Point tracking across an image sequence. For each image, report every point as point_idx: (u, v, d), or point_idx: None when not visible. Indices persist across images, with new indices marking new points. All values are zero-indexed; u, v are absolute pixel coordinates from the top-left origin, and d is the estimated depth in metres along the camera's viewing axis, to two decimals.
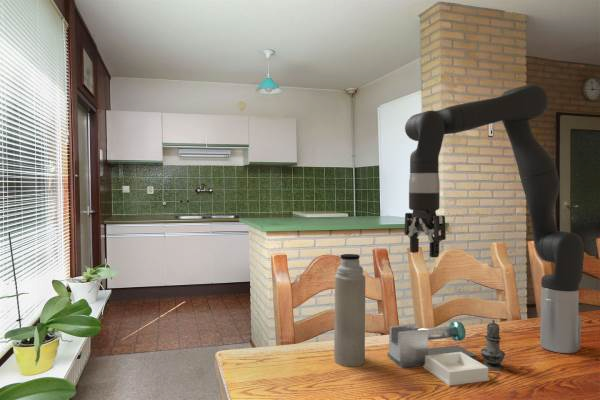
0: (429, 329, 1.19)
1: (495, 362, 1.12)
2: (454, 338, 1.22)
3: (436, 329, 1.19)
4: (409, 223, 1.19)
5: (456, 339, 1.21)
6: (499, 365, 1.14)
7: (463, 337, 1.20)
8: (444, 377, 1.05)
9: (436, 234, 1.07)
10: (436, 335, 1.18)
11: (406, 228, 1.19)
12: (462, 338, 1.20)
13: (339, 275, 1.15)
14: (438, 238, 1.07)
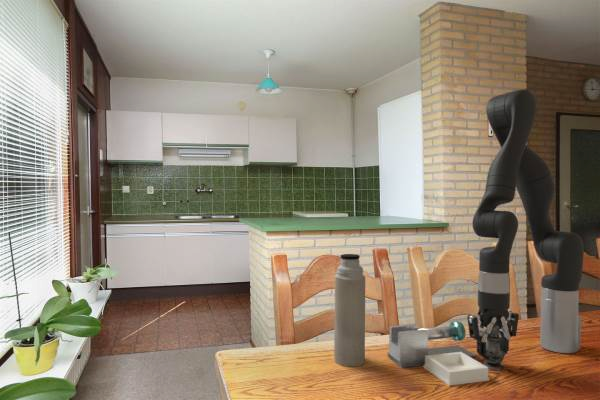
0: (429, 329, 1.19)
1: (495, 362, 1.12)
2: (454, 338, 1.22)
3: (436, 329, 1.19)
4: None
5: (456, 339, 1.21)
6: (499, 365, 1.14)
7: (463, 337, 1.20)
8: (444, 377, 1.05)
9: (515, 331, 1.15)
10: (436, 335, 1.18)
11: (477, 333, 1.11)
12: (462, 338, 1.20)
13: (339, 275, 1.15)
14: None
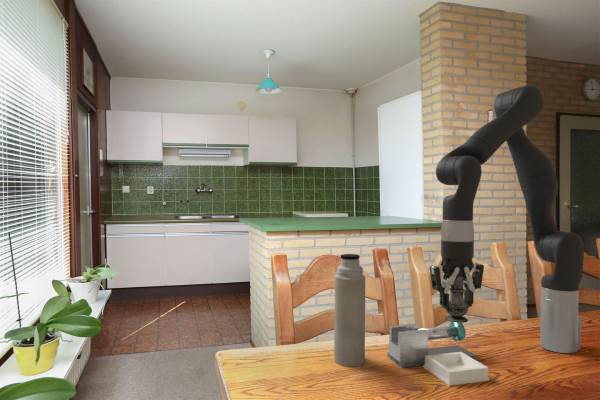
0: (429, 329, 1.19)
1: (458, 314, 1.07)
2: (454, 338, 1.22)
3: (436, 329, 1.19)
4: None
5: (456, 339, 1.21)
6: (463, 318, 1.09)
7: (463, 337, 1.20)
8: (444, 377, 1.05)
9: (480, 282, 1.09)
10: (436, 335, 1.18)
11: (439, 283, 1.06)
12: (462, 338, 1.20)
13: (339, 275, 1.15)
14: None
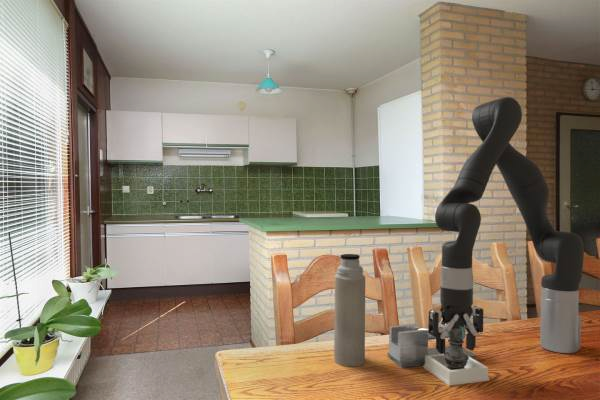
0: None
1: (458, 367, 1.07)
2: None
3: None
4: None
5: None
6: None
7: (463, 337, 1.20)
8: (444, 377, 1.05)
9: (482, 326, 1.10)
10: None
11: (436, 329, 1.07)
12: (462, 338, 1.20)
13: (339, 275, 1.15)
14: None
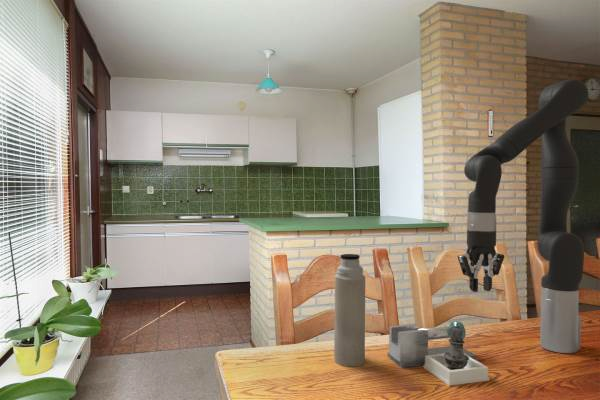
0: (429, 329, 1.19)
1: (458, 367, 1.07)
2: None
3: (436, 329, 1.19)
4: None
5: None
6: None
7: (463, 337, 1.20)
8: (444, 377, 1.05)
9: (498, 270, 1.23)
10: (436, 335, 1.18)
11: (469, 270, 1.21)
12: None
13: (339, 275, 1.15)
14: None
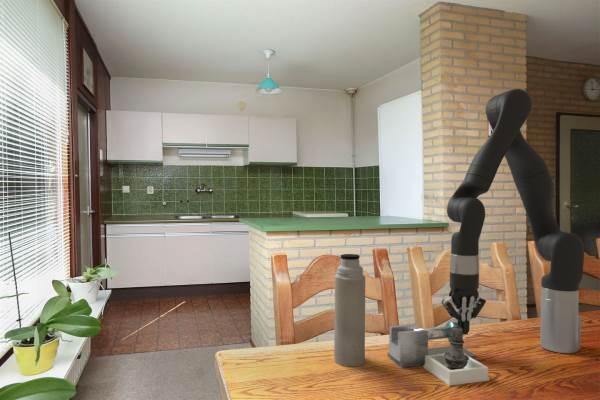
0: None
1: (458, 367, 1.07)
2: None
3: (432, 329, 1.19)
4: None
5: None
6: None
7: None
8: (444, 377, 1.05)
9: (476, 313, 1.22)
10: (432, 336, 1.18)
11: (456, 313, 1.20)
12: None
13: (339, 275, 1.15)
14: None
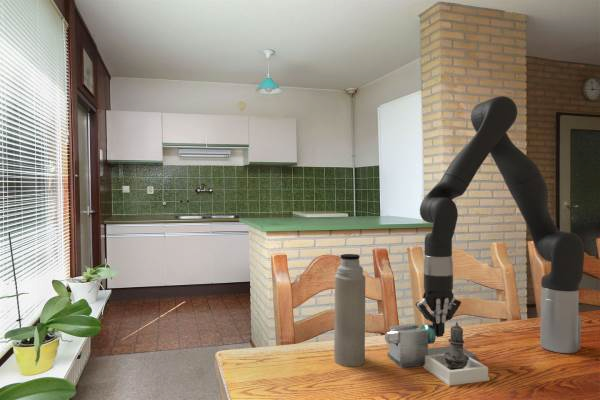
0: None
1: (458, 367, 1.07)
2: None
3: None
4: None
5: None
6: None
7: (433, 340, 1.17)
8: (444, 377, 1.05)
9: (451, 315, 1.20)
10: None
11: (430, 315, 1.18)
12: (432, 341, 1.17)
13: (339, 275, 1.15)
14: None
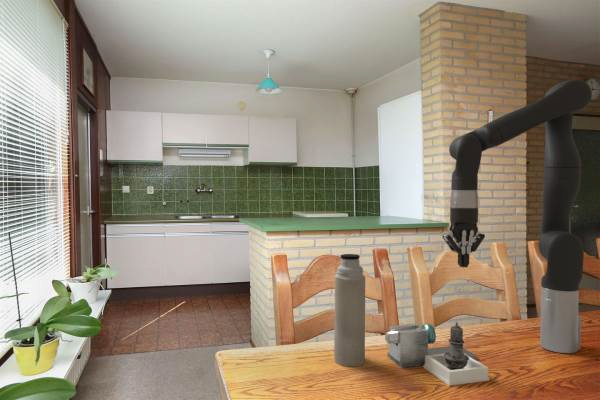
0: None
1: (458, 367, 1.07)
2: None
3: None
4: None
5: None
6: None
7: (433, 340, 1.17)
8: (444, 377, 1.05)
9: (476, 247, 1.27)
10: None
11: (456, 246, 1.25)
12: (432, 341, 1.17)
13: (339, 275, 1.15)
14: None
